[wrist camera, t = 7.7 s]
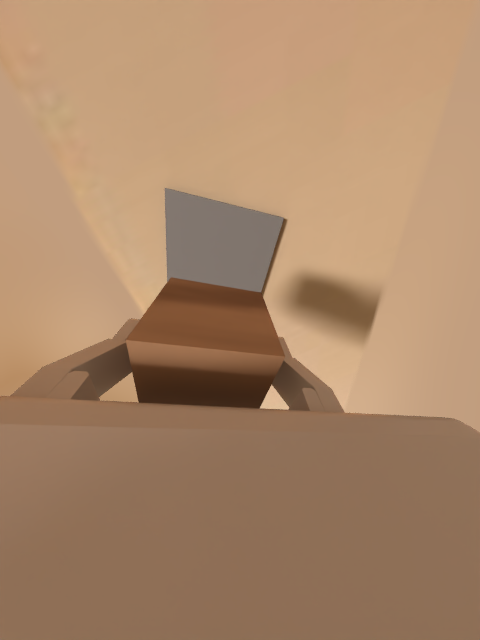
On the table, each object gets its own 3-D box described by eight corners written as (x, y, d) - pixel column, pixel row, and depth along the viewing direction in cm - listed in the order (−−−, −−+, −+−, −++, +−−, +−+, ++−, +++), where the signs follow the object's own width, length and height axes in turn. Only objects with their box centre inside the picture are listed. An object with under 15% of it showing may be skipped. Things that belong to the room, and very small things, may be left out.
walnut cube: (170, 277, 9) (125, 339, 5) (261, 292, 10) (285, 356, 6) (171, 345, 12) (143, 422, 8) (242, 353, 13) (250, 426, 9)
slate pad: (166, 188, 17) (164, 187, 16) (282, 217, 19) (283, 218, 18) (169, 297, 23) (167, 299, 23) (254, 310, 25) (254, 312, 25)
